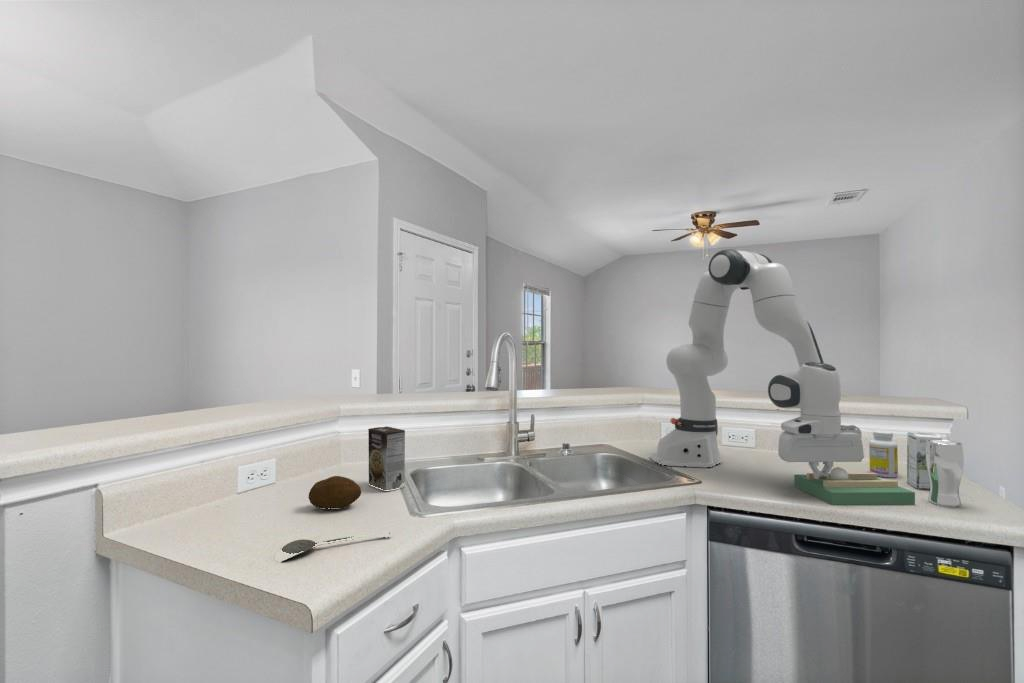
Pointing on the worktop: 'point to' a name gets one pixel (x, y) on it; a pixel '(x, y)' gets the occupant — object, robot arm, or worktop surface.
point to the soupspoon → (302, 545)
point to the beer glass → (944, 471)
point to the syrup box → (918, 459)
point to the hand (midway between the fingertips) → (820, 478)
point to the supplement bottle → (883, 454)
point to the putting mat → (856, 490)
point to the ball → (838, 474)
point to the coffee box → (386, 457)
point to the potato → (334, 492)
